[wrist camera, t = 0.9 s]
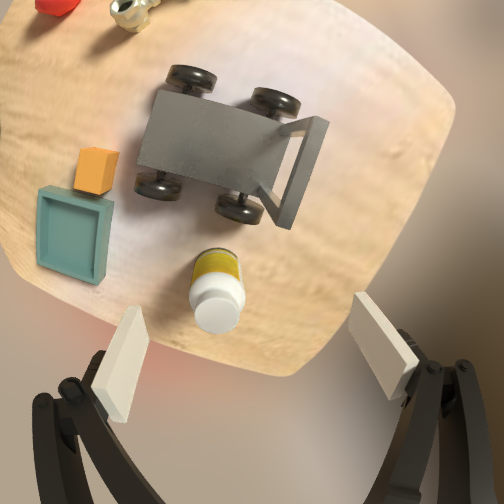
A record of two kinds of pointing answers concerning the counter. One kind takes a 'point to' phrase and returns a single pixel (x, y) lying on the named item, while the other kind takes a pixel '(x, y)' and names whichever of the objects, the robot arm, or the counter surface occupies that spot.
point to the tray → (73, 233)
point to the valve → (132, 13)
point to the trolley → (227, 148)
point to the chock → (95, 170)
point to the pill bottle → (217, 290)
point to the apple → (55, 6)
